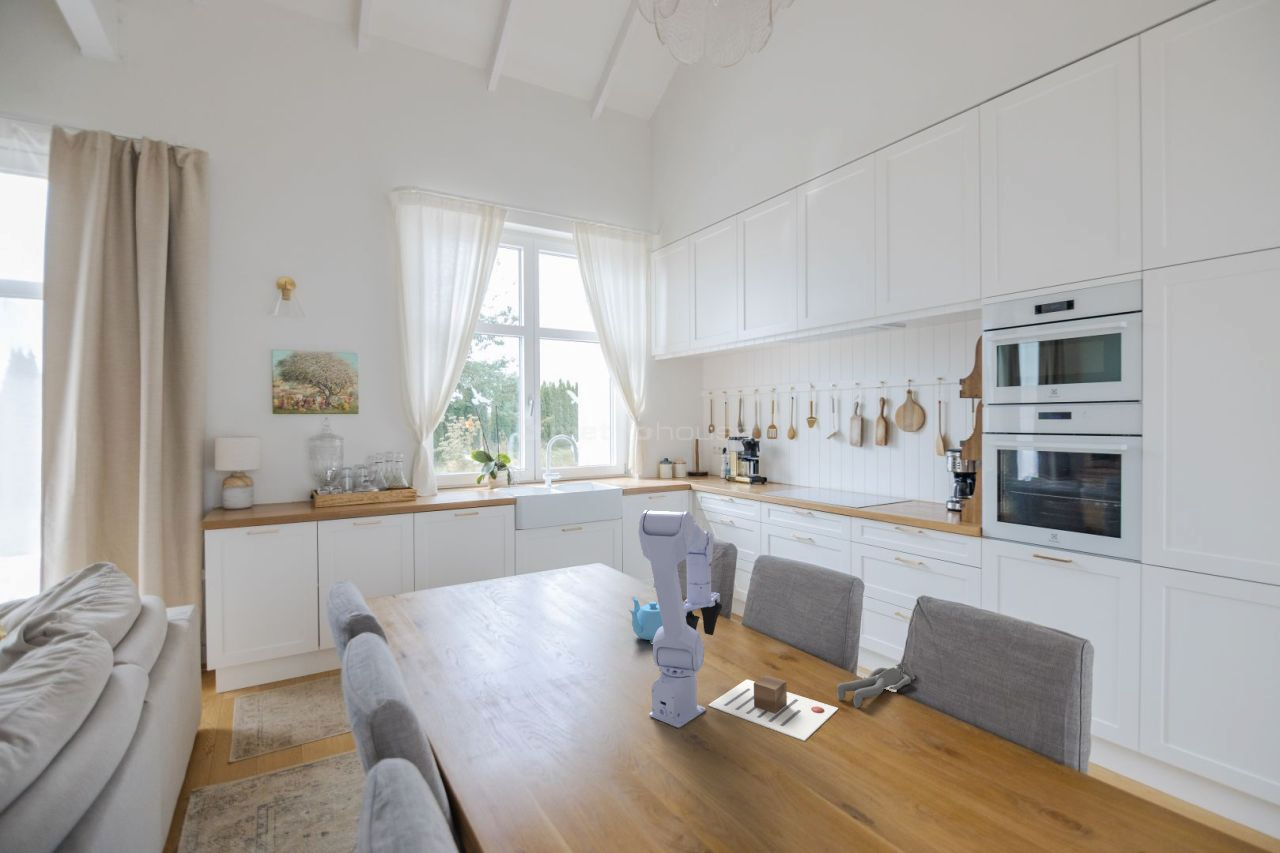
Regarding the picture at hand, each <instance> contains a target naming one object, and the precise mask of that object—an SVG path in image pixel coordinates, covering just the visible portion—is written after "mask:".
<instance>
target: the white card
mask: <svg viewBox="0 0 1280 853" xmlns="http://www.w3.org/2000/svg"><path fill="white" fill-rule="evenodd" d="M754 682H755V681H753V680H751V679H745V680H744V681H742V682H740V683H739V684H737V685H736V686H735V687H733V688H731V689H730V690H727V692H725V693H724V694H722V695H721V696H720V697H718V698H717V699H715V700H713V701H712V702H710V703H709V704H708V705H707V706H708V707H710V708H713V709H716V710H718V711H721V712H724V713H726V714H729V715H732V716H734V717H737V718H740V719H743V720H746V721H748V722H751V723H754V724H756V725H759V726H762V727H763V728H764V727H765V728H768V729H770V730H772V731H776V732H778V733H781V734H784V735H787V736H789V737H792V738H794V739H796V740H799V741H802V742H806V740H808V738H810V737H811V736H812V735H813V734H814V733H815V732H816V731H817V730H818V729H819V728H820V727H822V725H823V724H824V723H826V721H828V720H829V719H830V718H831V717H832V716H833V715H834V714H835V713H837V711H838V710H839V707H836V706H833V705H830V704H827V703H823V702H820V701H817V700H814V699H811V698H807V697H805V696H801V695H799V694H795V693H792V692H790V691H789V692H788V691H787V705H786V706H785V707H783V708H782V709H781V710H780V711H778V712H777V713H776V714H774V713H772V712H769V711H766V710H763V709H760V708H757V707H754Z"/></svg>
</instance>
